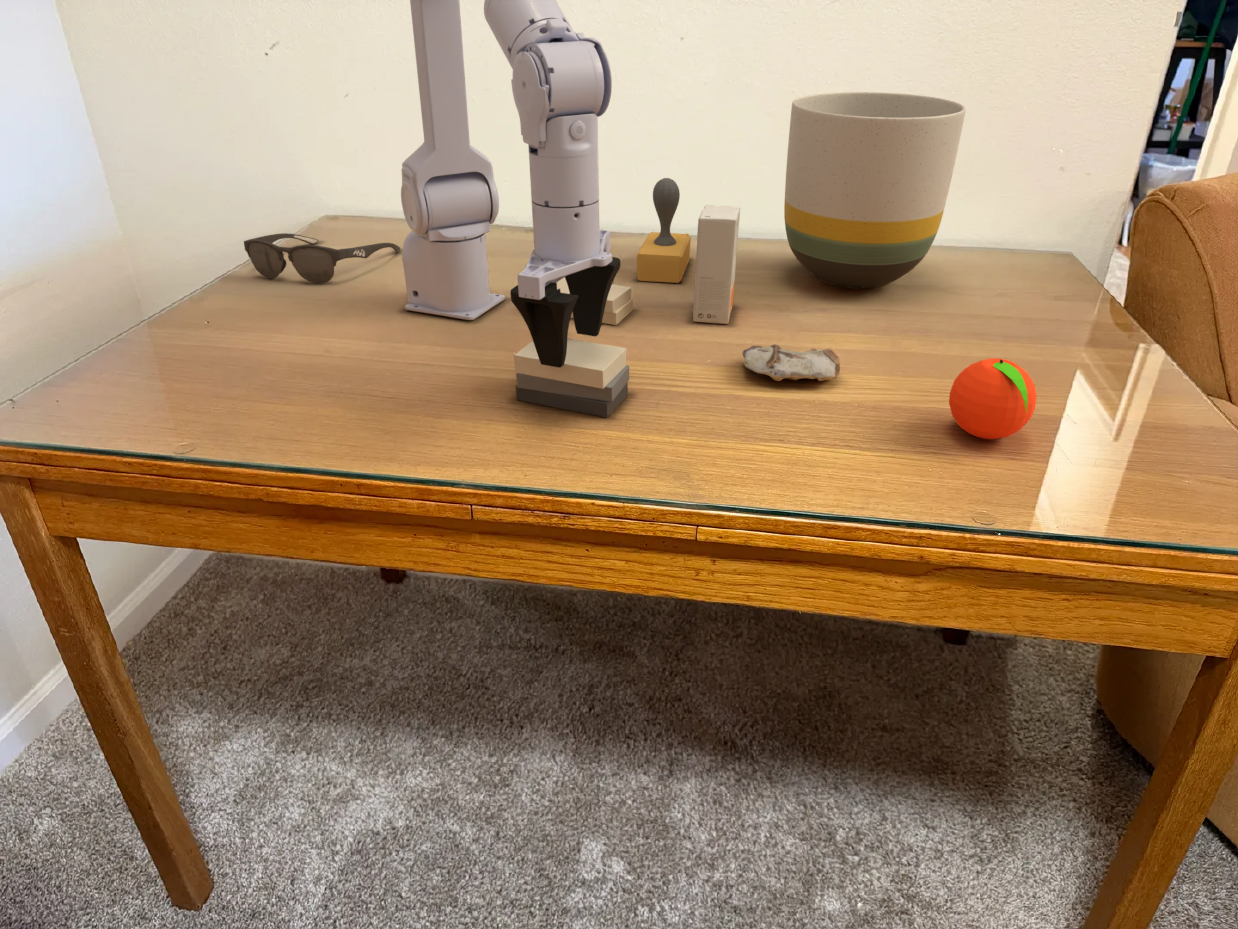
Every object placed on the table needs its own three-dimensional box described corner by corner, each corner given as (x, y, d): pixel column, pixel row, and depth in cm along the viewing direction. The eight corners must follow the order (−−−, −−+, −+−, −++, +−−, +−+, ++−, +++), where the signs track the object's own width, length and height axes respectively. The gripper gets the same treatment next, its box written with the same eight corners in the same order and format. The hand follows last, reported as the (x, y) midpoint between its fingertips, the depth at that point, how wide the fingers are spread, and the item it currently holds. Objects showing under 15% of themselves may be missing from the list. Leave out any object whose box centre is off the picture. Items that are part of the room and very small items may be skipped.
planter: (866, 320, 98) (897, 124, 87) (744, 277, 111) (757, 102, 100) (961, 284, 108) (1000, 105, 97) (839, 249, 121) (861, 87, 110)
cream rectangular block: (515, 372, 79) (513, 355, 78) (542, 350, 83) (541, 333, 82) (603, 389, 76) (602, 370, 75) (626, 365, 80) (626, 347, 79)
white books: (539, 314, 100) (537, 289, 98) (559, 299, 104) (558, 275, 103) (615, 326, 97) (615, 301, 95) (633, 310, 101) (633, 285, 99)
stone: (742, 388, 83) (744, 363, 81) (740, 357, 89) (742, 333, 88) (841, 392, 82) (845, 367, 81) (833, 360, 88) (836, 337, 87)
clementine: (1050, 455, 72) (1073, 379, 68) (976, 464, 70) (996, 387, 67) (995, 412, 78) (1013, 340, 75) (927, 419, 77) (942, 347, 73)
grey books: (514, 401, 81) (512, 372, 79) (541, 377, 85) (540, 350, 83) (609, 420, 77) (609, 390, 76) (632, 394, 82) (632, 366, 80)
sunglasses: (233, 276, 111) (227, 238, 109) (311, 253, 126) (306, 219, 124) (343, 288, 107) (338, 248, 105) (410, 263, 122) (407, 228, 120)
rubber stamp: (680, 283, 109) (683, 188, 103) (636, 280, 110) (637, 186, 104) (690, 260, 117) (693, 170, 111) (648, 257, 118) (650, 168, 112)
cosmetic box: (729, 325, 97) (736, 220, 90) (692, 322, 97) (696, 218, 91) (733, 306, 102) (741, 205, 96) (698, 304, 103) (703, 203, 96)
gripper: (570, 226, 64) (576, 387, 71) (640, 184, 76) (639, 327, 83) (490, 217, 67) (503, 373, 74) (569, 178, 78) (574, 317, 85)
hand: (570, 348), depth 78 cm, fingers open, 7 cm apart
